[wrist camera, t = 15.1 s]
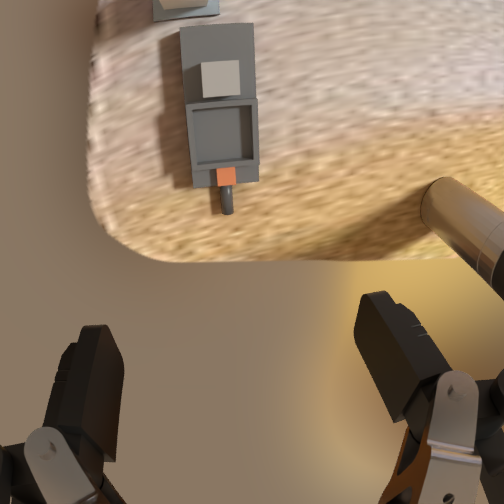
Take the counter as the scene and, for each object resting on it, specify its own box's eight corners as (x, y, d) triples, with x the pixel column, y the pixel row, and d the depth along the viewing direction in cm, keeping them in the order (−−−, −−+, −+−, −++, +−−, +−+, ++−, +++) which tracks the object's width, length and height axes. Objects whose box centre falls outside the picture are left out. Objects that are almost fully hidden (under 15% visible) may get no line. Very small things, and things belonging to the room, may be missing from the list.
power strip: (249, 25, 28) (256, 20, 25) (256, 205, 41) (263, 222, 37) (180, 30, 28) (178, 25, 24) (197, 212, 40) (198, 229, 36)
